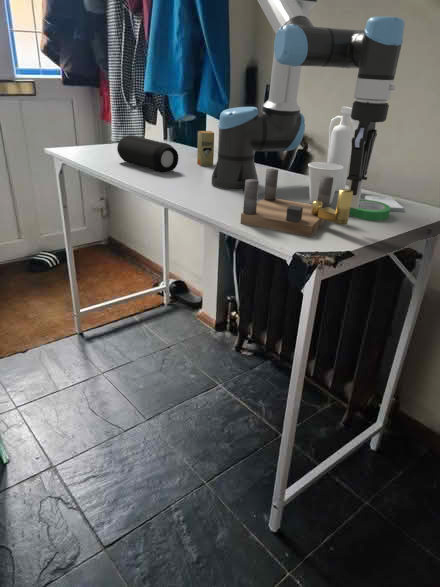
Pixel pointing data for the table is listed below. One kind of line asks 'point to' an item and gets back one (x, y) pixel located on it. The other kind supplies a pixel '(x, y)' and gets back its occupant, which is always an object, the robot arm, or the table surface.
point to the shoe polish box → (205, 148)
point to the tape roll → (371, 210)
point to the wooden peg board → (282, 207)
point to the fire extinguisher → (341, 143)
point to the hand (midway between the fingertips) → (351, 207)
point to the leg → (341, 210)
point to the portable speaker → (148, 153)
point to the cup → (322, 170)
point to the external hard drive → (386, 202)
